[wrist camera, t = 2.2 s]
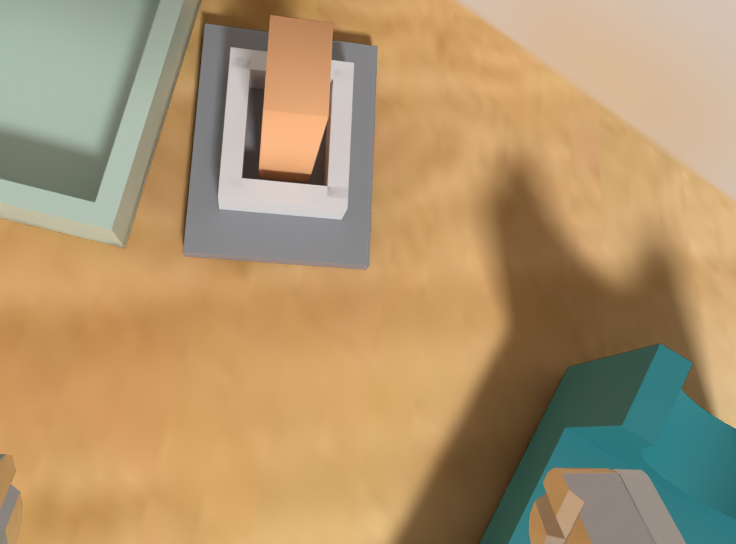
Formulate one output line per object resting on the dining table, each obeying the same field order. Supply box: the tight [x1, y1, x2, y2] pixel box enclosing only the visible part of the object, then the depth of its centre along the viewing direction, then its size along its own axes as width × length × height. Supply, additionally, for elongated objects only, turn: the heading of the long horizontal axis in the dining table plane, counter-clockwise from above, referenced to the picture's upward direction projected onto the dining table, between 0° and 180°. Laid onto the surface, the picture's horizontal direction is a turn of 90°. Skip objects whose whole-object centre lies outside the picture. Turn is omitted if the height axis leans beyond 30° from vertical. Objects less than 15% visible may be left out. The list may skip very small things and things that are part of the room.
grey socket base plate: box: [183, 23, 378, 270], centre depth 33 cm, size 9×12×3 cm
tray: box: [0, 0, 201, 248], centre depth 32 cm, size 11×15×4 cm
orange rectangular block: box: [258, 15, 333, 183], centre depth 30 cm, size 2×4×8 cm, turn 177°
